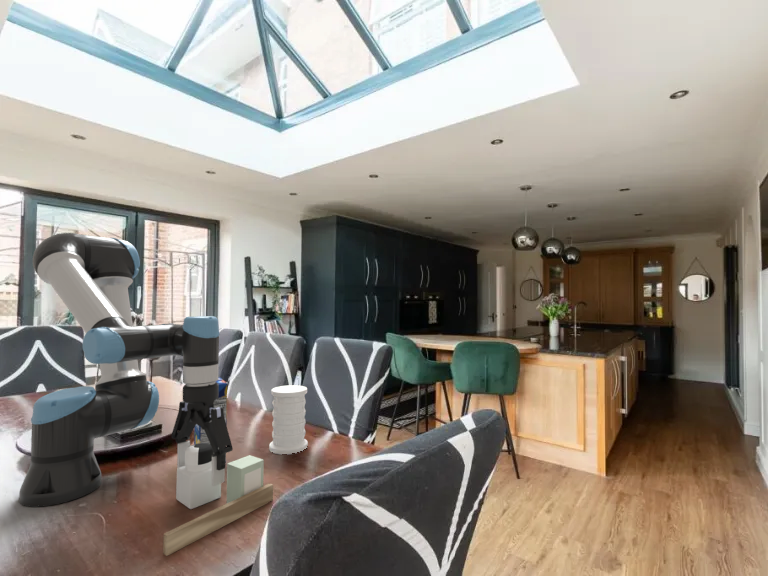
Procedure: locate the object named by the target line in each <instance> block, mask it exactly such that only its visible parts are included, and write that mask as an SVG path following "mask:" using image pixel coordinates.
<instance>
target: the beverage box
mask: <svg viewBox="0 0 768 576" xmlns="http://www.w3.org/2000/svg"><path fill="white" fill-rule="evenodd" d="M215 382H217V383H218V384H219V395H218V398H217V399H216V400H215V401H214V407H215V408H218V407H223V409H224V419H225V422H226V426H227V425H228V420H227V419H228V417H227V416H228V383H227V381H225V380H224V379H223V378H222V377H220V376H218V380H217V381H215ZM210 422H212V421H210ZM227 427H228V426H227ZM193 431H194V432H193V436H194V437H193V440H194V441H193V445H194V444H198V443H208V444H210V442H209V440H208V437H207V435H206V433H205V430H204V429H202V428H201V426H199V425H197V424H196V425H195V427H194V429H193ZM218 449H219V448H218ZM225 464H227V460H226V461H225Z"/></svg>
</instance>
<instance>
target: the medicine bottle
mask: <svg viewBox="0 0 768 576" xmlns="http://www.w3.org/2000/svg"><path fill="white" fill-rule="evenodd" d="M213 454H214V452H213V449H212V447H211V444H208V443H198V444H194V443H193V444H190V447H188V448H187V449H186V450H185V466H183V467H180V468H178V469H177V468H176V488H175V490H176V491H175V493H176V495H175V496H176V497H175V499H176V500H177V501H178V502H179V503H181V504H182V505H184V506H185V507H186V508H188V509H190V510H192V509H196V508H199V507H200V506H202V505H205V504H206V505H207V504H208V503H211V502H213V501H215V500H218V499H220V498H221V496H222V483H221V484H218V485H216V486H212V455H213Z"/></svg>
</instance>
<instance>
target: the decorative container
mask: <svg viewBox="0 0 768 576" xmlns="http://www.w3.org/2000/svg"><path fill="white" fill-rule="evenodd" d="M307 393H308V388H307V386H303V385H299V384H298V385H296V384H294V385H293V384H289V385H281V386H275V387H273V388H272V389H271V393H270V394H271V396H273V400H272V402H271V403H272V407H273V410H272V412H271V414H272V417H273V420H272V423H271V426H272V431H271V437H272V441H271V442H269V445H268V447H269V449H268V450H269V452H271V453H272V452H273V453H272V454H276V455H282V454H287V455H293V454H292V453H295V454H298V453H297V452H299V453H301V452H300V451H302V452H304V451H305V450H304V449H306V448H307V449H308V447H307V446H309V442H308V440H307V439H306V438H305V436H306V433H307V432H306V429H305V425H306V423H307V422H306V421H307V420H306V417H305V416H306V413H307V411H306V408H305V405H306V402H307V399H306V396H305V395H306V394H307ZM307 449H306V450H307ZM303 450H304V451H303Z"/></svg>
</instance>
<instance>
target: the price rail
mask: <svg viewBox="0 0 768 576" xmlns="http://www.w3.org/2000/svg"><path fill="white" fill-rule="evenodd" d="M273 500H274V484H272V483H267V484H265V485H263V487H261V488H259V489H257V490H254V491H252V492H250V493H248V494H246V495H244V496H242V497H240V498H238V499H236V500H233V501H231V502H229V503H227V502H226V503H225V504H224V505H221V506H219V507H217V508H215V509H212V510H211V511H208V512H206V513H204V514H202V515H199V516H198V517H196V518H194V519H192V520H190V521H187V522H185V523H183V524H181V525H180V526H176V527H175V528H173V529H171V530H169V531H167V532H164V533H163V542H162V543H163V544H162V545H163V546H162V547H163V549H162V551H163V553H162V554H163V555H164V556H166V557H168V556H170V555H172V554H174V553H175V552H177V551H179V550H181V549H183V548H185V547H187V546H189V545H191V544H193V543H194V542H196V541H199V540H200V539H202V538H204V537H206V536H207V535H210V534H212V533H213V532H215V531H217V530H219V529H221V528H222V527H225V526H227V525H229V524H231V523H232V522H235V521H236V520H238V519H240V518H242V517H244V516H246V515H249V513H252V512H253V511H256V510H257V509H259V508H261V507H262V506H265V505H266V504H269V503H270V502H269V501H271V502H273ZM268 502H269V503H268Z"/></svg>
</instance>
